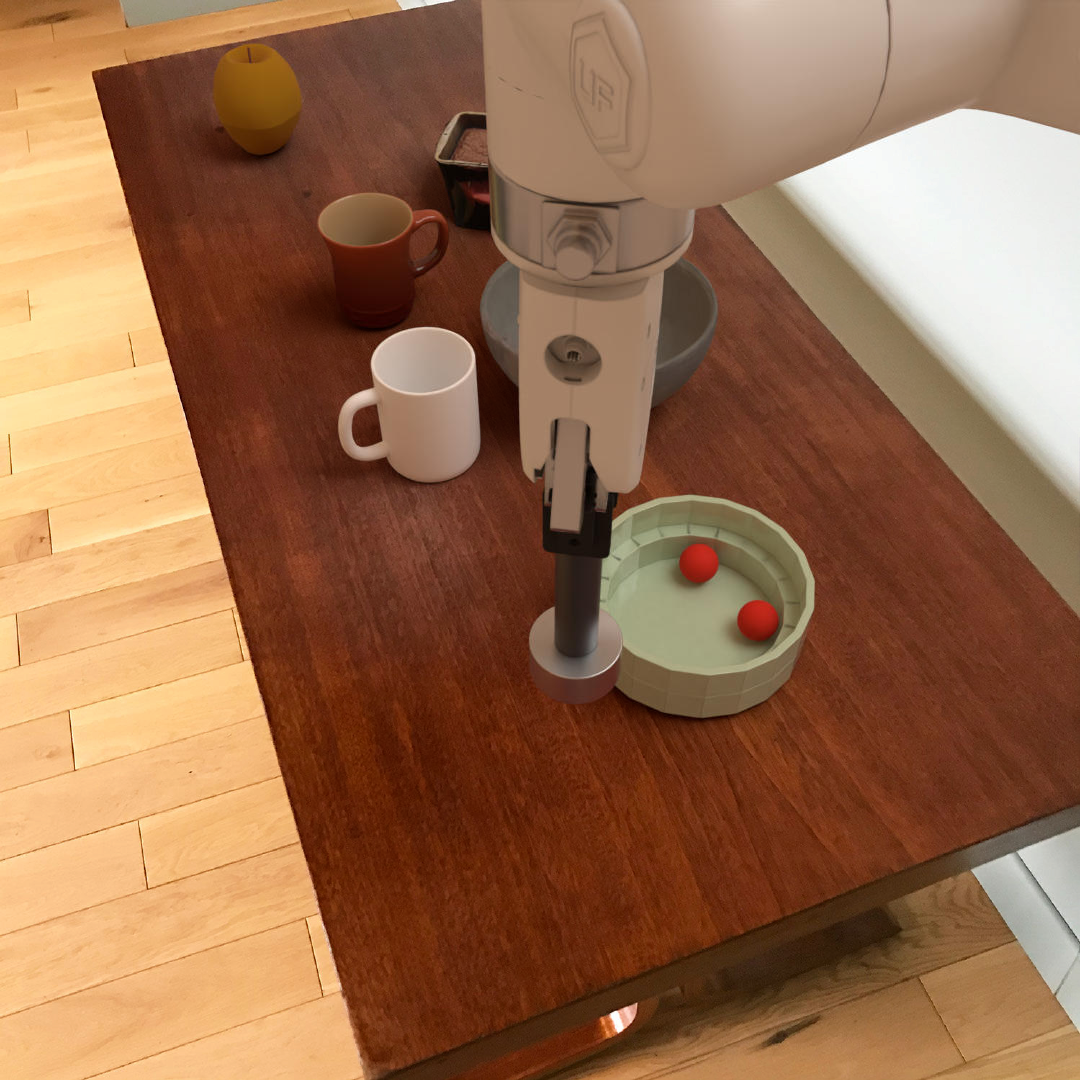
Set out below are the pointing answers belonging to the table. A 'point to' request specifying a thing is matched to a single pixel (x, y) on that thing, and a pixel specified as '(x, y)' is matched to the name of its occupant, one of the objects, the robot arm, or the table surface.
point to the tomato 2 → (757, 620)
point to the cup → (420, 405)
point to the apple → (257, 98)
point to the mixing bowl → (703, 605)
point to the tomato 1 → (698, 563)
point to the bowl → (680, 329)
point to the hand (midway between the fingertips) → (580, 524)
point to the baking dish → (466, 168)
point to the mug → (377, 255)
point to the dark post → (576, 635)
